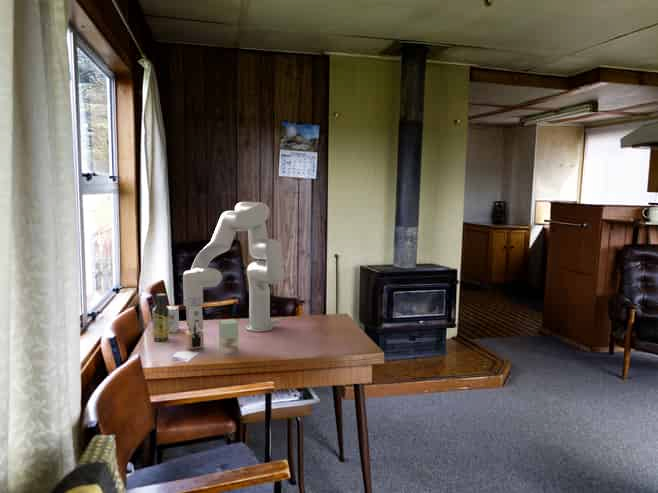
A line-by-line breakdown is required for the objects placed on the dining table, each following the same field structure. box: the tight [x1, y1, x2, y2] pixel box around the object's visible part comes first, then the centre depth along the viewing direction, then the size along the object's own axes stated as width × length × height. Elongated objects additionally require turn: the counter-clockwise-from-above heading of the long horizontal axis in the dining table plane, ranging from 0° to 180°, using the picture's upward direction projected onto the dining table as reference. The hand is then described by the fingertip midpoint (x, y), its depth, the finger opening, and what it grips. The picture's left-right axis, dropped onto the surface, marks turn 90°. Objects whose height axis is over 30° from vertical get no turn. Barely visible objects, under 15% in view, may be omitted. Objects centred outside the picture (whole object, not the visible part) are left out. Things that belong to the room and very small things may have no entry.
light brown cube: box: [184, 328, 205, 350], centre depth 201 cm, size 6×6×6 cm
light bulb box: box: [151, 305, 180, 333], centre depth 225 cm, size 11×7×11 cm, turn 95°
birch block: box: [218, 334, 239, 355], centre depth 198 cm, size 6×6×6 cm
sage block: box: [218, 318, 239, 339], centre depth 197 cm, size 6×6×6 cm
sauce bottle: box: [152, 293, 170, 342], centre depth 210 cm, size 7×6×20 cm
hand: (194, 343), depth 201 cm, fingers closed on light brown cube, 6 cm apart
